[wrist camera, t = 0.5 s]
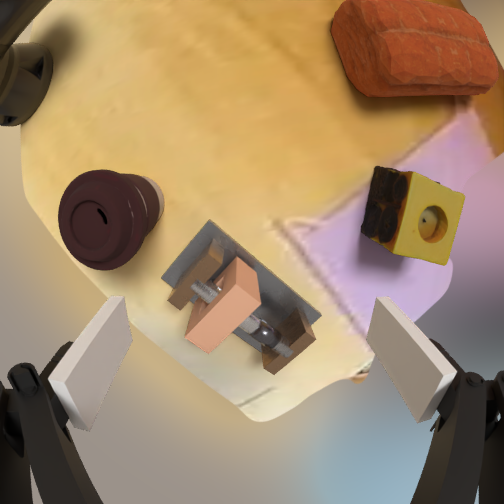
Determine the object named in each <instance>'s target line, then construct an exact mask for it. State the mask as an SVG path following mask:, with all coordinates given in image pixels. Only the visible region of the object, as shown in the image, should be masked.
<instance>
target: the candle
mask: <svg viewBox="0 0 504 504" xmlns="http://www.w3.org/2000/svg"><path fill="white" fill-rule="evenodd" d="M464 200H465V196H464V194H462V193H460V192H456V191H452V190H451V189H449V188H447V187H445V186H443V185H441V184H440V183H439V182H435V181H432V180H430V179H429V178H427V177H425V176H423V175H421V174H418V173H416V172H412V171H408V172H400V171H398V170H396V169H392V168H384V167H380V166H376V167H375V173H374V175H373V181H372V183H371V189H370V192H369V197H368V202H367V207H366V213H365V218H364V222H363V224H362V226H361V232H362V233H363V234H365V236H367V237H369V238H370V239H372V240H374V241H375V242H377V243H379V244H380V245H383V246H384V248H386V249H388V250H389V251H390V252H391V253H393V254H397V255H401V256H405V257H411V258H417V259H422V260H425V261H428V262H431V263H436V264H439V265H443V266H445V265H446V264H447V262H448V259H449V256H450V252H451V248H452V244H453V241H454V237H455V234H456V230H457V227H458V223H459V219H460V215H461V211H462V208H463V204H464Z"/></svg>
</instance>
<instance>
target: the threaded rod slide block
mask: <svg viewBox="0 0 504 504" xmlns="http://www.w3.org/2000/svg"><path fill="white" fill-rule="evenodd" d="M236 257H238V258H240V259H241V260H242V261H243V262H244V263H246V264H247V265H248V266H249V267H250V268H252V269H253V270H254V271H255V272H256V273H257V279H258V286H259V293H260V299H261V305H260V306H259V307H258V308H256V309H255V310H254V311H253V312H252V313H251V314H250V315H249V316H248V317H247V318H246V319H245V320H244V321H243V322H242V323H241V324H240V325H239V326H238V327H237V328H236V329H235V330H234V331H233V333H234V334H236V335H237V336H239V337H240V338H241V339H243V340H244V341H246V342H247V343H249V344H250V345H251V346H253V347H254V348H256V349H257V350H259V351H260V352H262V358H263V367H264V369H265V370H267V371H268V372H270V373H272V374H273V375H275V374H276V373H277V372H278V371H279V370H281V369H282V368H283V367H284V366H286V365H287V364H288V363H289V362H290V361H292V360H293V359H294V358H295V357H296V356H298V355H299V354H300V353H301V352H302V351H303V350H305V349H306V348H307V347H308V346H309V345H310V344H312V343H313V342H314V341H315V340H316V338H315V336H314V333H313V331H312V328H311V325H312V324H313V323H314V322H315V321H316V320H317V319H318V318H320V317H321V316H322V315H321V313H320V312H319V311H318V310H316V309H315V308H314V307H313V306H312V305H310V304H309V303H308V302H307V301H306V300H305V299H303V298H302V297H301V296H300V295H299V294H297V293H296V292H295V291H294V290H293V289H292V288H290V287H289V286H288V285H287V284H286V283H284V282H283V281H282V280H281V279H280V278H279V277H277V276H276V275H275V274H274V273H273V272H271V271H270V270H269V269H268V268H267V267H266V266H264V265H263V264H262V263H261V262H260V261H259V260H257V259H256V258H255V257H254V256H253V255H251V254H250V253H249V252H248V251H247V250H246V249H244V248H243V247H242V246H241V245H240V244H239V243H237V242H236V241H235V240H234V239H233V238H231V237H230V236H229V235H228V234H227V233H226V232H224V231H223V230H222V229H221V228H220V227H219V226H217V225H216V224H215V223H214V222H213V221H211V220H210V219H209V221H208V222H207V223H206V224H205V225H204V226H203V228H202V229H201V230H200V231H199V232H198V233H197V235H196V236H195V237H194V238H193V239H192V241H191V242H190V243H189V244H188V245H187V246H186V248H185V249H184V250H183V251H182V252H181V254H180V255H179V256H178V257H177V258H176V260H175V261H174V262H173V263H172V265H171V266H170V267H169V268H168V269H167V271H166V272H165V273H164V274H163V276H162V277H161V278H162V279H163V280H164V281H166V282H167V283H168V284H169V285H171V286H172V287H173V290H172V292H171V294H170V296H169V298H168V300H167V301H169V302H170V303H171V304H173V305H174V306H175V307H176V308H178V309H179V310H181V309H182V308H183V307H184V306H185V305H186V304H187V302H188V301H189V300H190V301H191V302H192V303H195V301H196V300H197V299H198V298H199V297H200V298H201V299H203V300H204V301H205V302H207V303H208V304H210V303H211V302H212V301H213V300H214V298H215V297H216V296H217V295H218V294H219V293H220V292H221V291H222V289H221V288H219V287H218V286H217V285H216V284H214V283H213V281H214V280H215V279H216V278H217V277H218V276H219V275H220V274H221V273H222V272H223V271H224V270H225V268H226V267H227V266H228V265H229V264H230V263H231V262H232V261H233V260H234V259H235V258H236Z"/></svg>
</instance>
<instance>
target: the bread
mask: <svg viewBox="0 0 504 504" xmlns="http://www.w3.org/2000/svg"><path fill="white" fill-rule="evenodd" d="M331 34H332V36H333V39H334V41H335V44H336V47H337V49H338V52H339V55H340V57H341V60H342V63H343V66H344V69H345V72H346V75H347V77H348V78H349V80H350V81H351V82H352V84H353V85H354V86H355V88H356V89H357V90H358V91H360V92H361V93H363V94H365V95H366V96H368V97H395V96H422V95H479V94H485V93H486V92H487V91H488V90H489V89H490V88H491V87H493V86H494V84H495V83H496V81H497V80H498V78H499V74H498V67H497V61H496V59H495V57H494V54H493V52H492V50H491V49H490V48H489V47H488V46H489V41H488V39H487V36H486V34H485V32H484V30H483V27H482V25H481V24H480V23H479V22H478V21H477V20H476V18H475V17H473V16H471V15H469V14H467V13H465V12H463V11H462V10H460V9H456V8H451V7H447V6H443V5H439V4H435V3H431V2H428V1H424V0H345V1H344V2H343V3H342V4H341V6H340V7H339V9H338V10H337V11H336V12H335V15H334V20H333V24H332V29H331Z"/></svg>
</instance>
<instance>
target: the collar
mask: <svg viewBox="0 0 504 504" xmlns="http://www.w3.org/2000/svg"><path fill="white" fill-rule="evenodd" d="M213 283H214V284H216V285H217V286H218V287H219V288H221V289H222V291H221V292H220V293H219V294H218V295H217V296H216V297H215V298H214V300H213V301H212V302H211V303H210V304H208V303H207V302H205V301H204V300H203V299H201V298H200V297H199V298H198V299H197V300H196V301H195V303H194V307H193V310H192V313H191V317H190V320H189V323H188V327H187V330H186V334H185V338H186V339H187V340H189V341H190V342H192V343H193V344H195V345H196V346H198V347H199V348H200V349H202V350H203V351H205V352H206V353H208V354H209V353H210V352H211V351H212V350H213V349H214V348H216V347H217V346H218V345H219V344H220V343H221V342H222V341H223V340H224V339H225V338H226V337H227V336H228V335H229V334H230V333H231V332H233V331H234V330H235V329H236V328H237V327H238V326H239V325H240V324H241V323H242V322H243V321H244V320H245V319H246V318H247V317H248V316H249V315H250V314H251V313H252V312H253V311H254V310H255V309H256V308H258V307H259V306H260V305H261V299H260V293H259V286H258V279H257V273H256V272H255V271H254V270H253V269H252V268H250V267H249V266H248V265H247V264H246V263H244V262H243V261H242V260H241V259H240V258H238V257H236V258H235V259H234V260H233V261H232V262H231V263H230V264H229V265H228V266H227V267H226V268H225V270H224V271H223V272H222V273H221V274H220V275H219V276H218V277H217V278H216V279H215V280H214V281H213Z"/></svg>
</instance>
